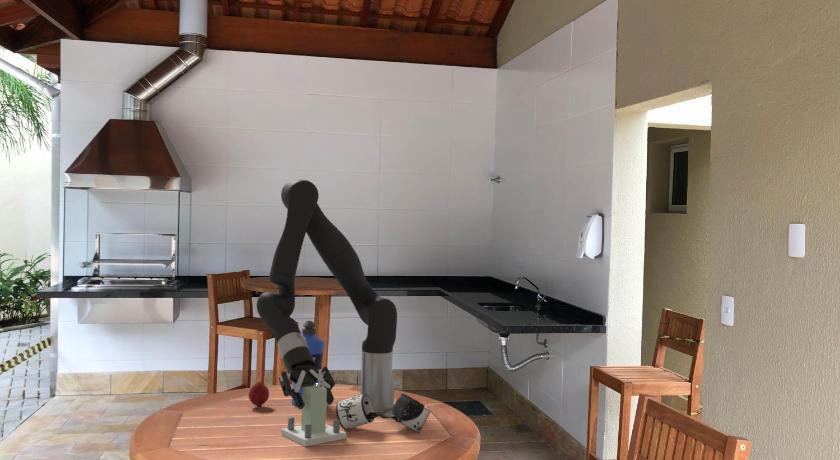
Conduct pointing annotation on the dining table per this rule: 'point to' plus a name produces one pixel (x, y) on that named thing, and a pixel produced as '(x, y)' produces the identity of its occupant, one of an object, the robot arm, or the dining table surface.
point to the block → (314, 408)
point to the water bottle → (312, 347)
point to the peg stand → (312, 439)
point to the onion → (259, 394)
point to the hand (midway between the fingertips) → (316, 405)
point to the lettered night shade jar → (362, 413)
